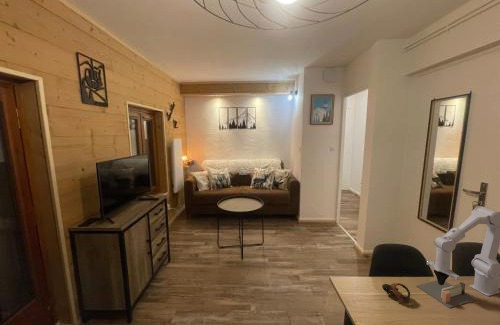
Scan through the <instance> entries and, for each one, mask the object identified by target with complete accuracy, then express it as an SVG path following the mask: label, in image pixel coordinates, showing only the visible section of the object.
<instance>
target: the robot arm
mask: <svg viewBox="0 0 500 325" xmlns="http://www.w3.org/2000/svg"><path fill="white" fill-rule="evenodd" d="M470 214H471V215H470V216H469V217H468V218H466V219H465V221H463V222H462V223H461V224H460V225H459V226H458V227H451V228H450V229H449V230H448V231H447V232H446V233H444V234H443V235H442V236H437V237H436V238H435V239H434V240H433V244H434V245H435V250H436V253H435V262H434V261H432V260H427V261H426V265H427V266H431V267H433V268H434V270H433V273H434V274H435V277H436V281H437V280H438V284H439V285H444V283H445V282H447V280H448V278H449V277H451V278H452V279H454V280H455V281H459V280H460V275H458V274H457V273H456V272H454V271H453V270H451V258H452V252H453V251H454V250H455V249H456V246H457V244H458V243H460V241H462V240H463V239H464V238H466V233H468V232H469V231H471V230H472V229H473V228H475V227H477V226H478V225H487V226H486V227H487V228H486V232H485V235H484V239H483V243H482V248H481V250H480V253H479V254H475V255H474V258H473V259H472V260H471V266H472V268H473V269H474V278H473V279H474V282H473V284H469V287H470V288H472V289H474V290H476V291H478V292H479V293H480V294H483V295H485V296H487V297H489V296H493V295H496V294H500V290H499V285H500V262H499V261H498V260H497V256H498V253H499V248H500V211H497V210H495V209H491V208H488V207H485V206H482V205H478V206H476V207H475V208H474V209H473V210H471V213H470Z"/></svg>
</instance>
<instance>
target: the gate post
mask: <svg viewBox="0 0 500 325" xmlns="http://www.w3.org/2000/svg"><path fill="white" fill-rule="evenodd" d="M459 284H461V285H462V292H461V294H462V295H464V294H465V293H466V283H464V282H461V281H460V282H459Z"/></svg>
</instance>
